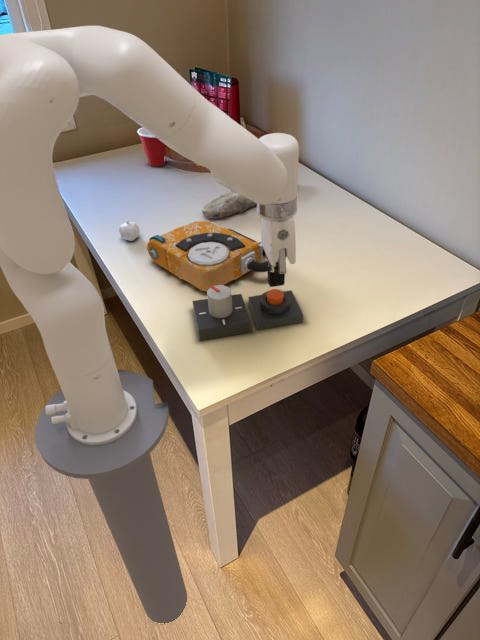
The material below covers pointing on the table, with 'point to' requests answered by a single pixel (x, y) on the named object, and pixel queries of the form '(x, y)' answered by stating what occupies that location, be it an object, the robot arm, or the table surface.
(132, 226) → the garlic
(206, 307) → the timer panel
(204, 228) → the device
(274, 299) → the power button
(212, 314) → the timer dial
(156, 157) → the plastic cup
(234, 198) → the elongated rock
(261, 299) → the button block
